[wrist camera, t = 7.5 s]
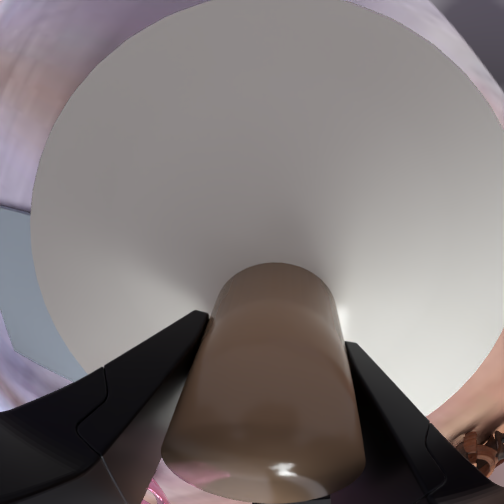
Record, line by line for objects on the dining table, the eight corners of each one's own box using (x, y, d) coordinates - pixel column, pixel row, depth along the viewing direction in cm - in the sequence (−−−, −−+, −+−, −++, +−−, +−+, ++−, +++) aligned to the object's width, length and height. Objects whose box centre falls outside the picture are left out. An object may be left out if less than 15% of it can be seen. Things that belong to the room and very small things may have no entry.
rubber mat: (147, 407, 27) (146, 410, 27) (16, 348, 28) (14, 350, 27) (143, 240, 20) (140, 242, 19) (-17, 201, 20) (-20, 202, 19)
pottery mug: (450, 462, 31) (444, 499, 24) (440, 424, 32) (434, 461, 25) (517, 438, 24) (521, 474, 17) (513, 395, 25) (521, 431, 19)
